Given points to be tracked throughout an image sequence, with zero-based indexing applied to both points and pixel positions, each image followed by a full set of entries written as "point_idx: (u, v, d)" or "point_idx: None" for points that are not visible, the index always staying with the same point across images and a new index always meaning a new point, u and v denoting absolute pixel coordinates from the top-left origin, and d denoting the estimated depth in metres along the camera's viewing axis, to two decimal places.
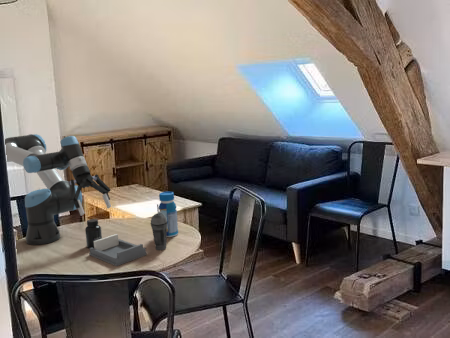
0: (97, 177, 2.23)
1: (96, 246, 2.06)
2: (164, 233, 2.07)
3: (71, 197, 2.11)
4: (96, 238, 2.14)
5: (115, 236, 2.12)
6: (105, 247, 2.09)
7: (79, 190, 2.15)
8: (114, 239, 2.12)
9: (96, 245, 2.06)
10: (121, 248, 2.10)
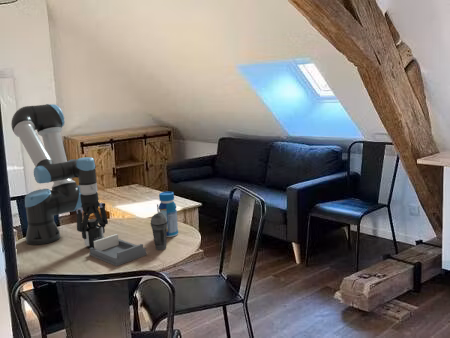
0: (103, 206, 2.17)
1: (96, 246, 2.06)
2: (164, 233, 2.07)
3: (80, 229, 2.10)
4: (96, 238, 2.14)
5: (115, 236, 2.12)
6: (105, 247, 2.09)
7: (87, 220, 2.12)
8: (114, 239, 2.12)
9: (96, 245, 2.06)
10: (121, 248, 2.10)
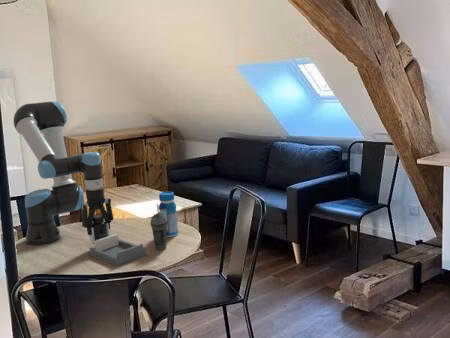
0: (109, 202, 2.13)
1: (96, 246, 2.06)
2: (164, 233, 2.07)
3: (85, 225, 2.06)
4: (102, 234, 2.10)
5: (115, 236, 2.12)
6: (105, 247, 2.09)
7: (92, 216, 2.08)
8: (114, 239, 2.12)
9: (96, 245, 2.06)
10: (121, 248, 2.10)
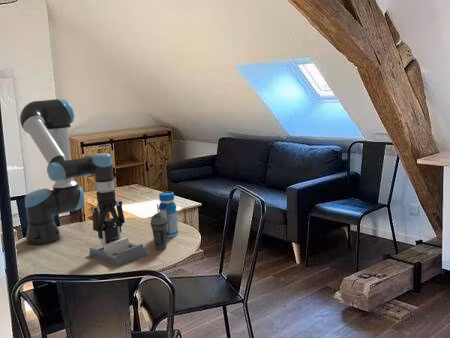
0: (120, 204, 2.07)
1: (106, 250, 2.00)
2: (164, 233, 2.07)
3: (96, 228, 2.00)
4: (113, 238, 2.04)
5: (125, 239, 2.07)
6: (115, 251, 2.04)
7: (103, 219, 2.02)
8: (124, 243, 2.06)
9: (106, 249, 2.00)
10: None
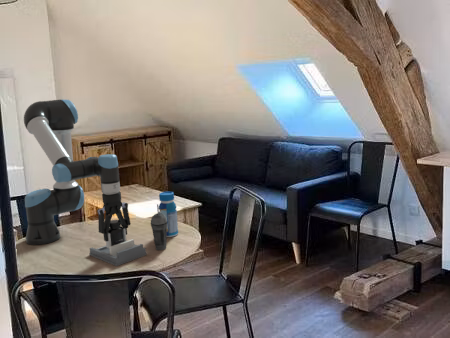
0: (126, 206, 2.04)
1: (112, 252, 1.97)
2: (164, 233, 2.07)
3: (102, 231, 1.97)
4: (119, 240, 2.01)
5: (131, 241, 2.04)
6: None
7: (109, 221, 1.99)
8: (130, 245, 2.04)
9: (112, 251, 1.97)
10: None
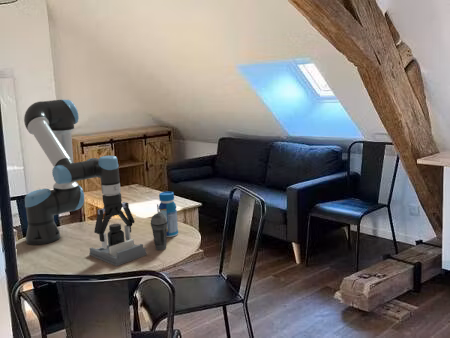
0: (127, 206, 2.04)
1: (111, 252, 1.98)
2: (164, 233, 2.07)
3: (98, 231, 1.96)
4: None
5: (131, 241, 2.04)
6: None
7: (107, 222, 1.98)
8: (130, 244, 2.04)
9: (111, 251, 1.98)
10: None
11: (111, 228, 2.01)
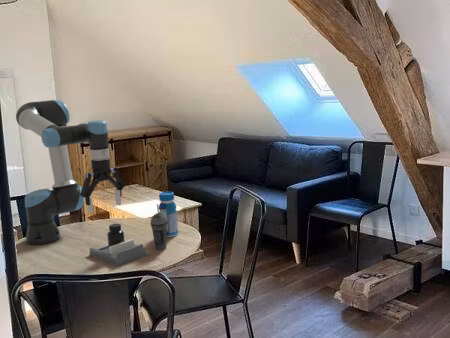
0: (115, 171, 2.04)
1: (111, 252, 1.98)
2: (164, 233, 2.07)
3: (84, 194, 1.95)
4: None
5: (131, 241, 2.04)
6: None
7: (94, 186, 1.97)
8: (130, 244, 2.04)
9: (111, 251, 1.98)
10: None
11: (111, 228, 2.01)
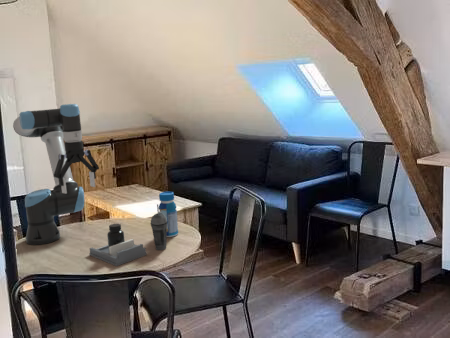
0: (89, 153, 2.10)
1: (111, 252, 1.98)
2: (164, 233, 2.07)
3: (57, 175, 2.01)
4: None
5: (131, 241, 2.04)
6: None
7: (67, 167, 2.04)
8: (130, 244, 2.04)
9: (111, 251, 1.98)
10: None
11: (111, 228, 2.01)
